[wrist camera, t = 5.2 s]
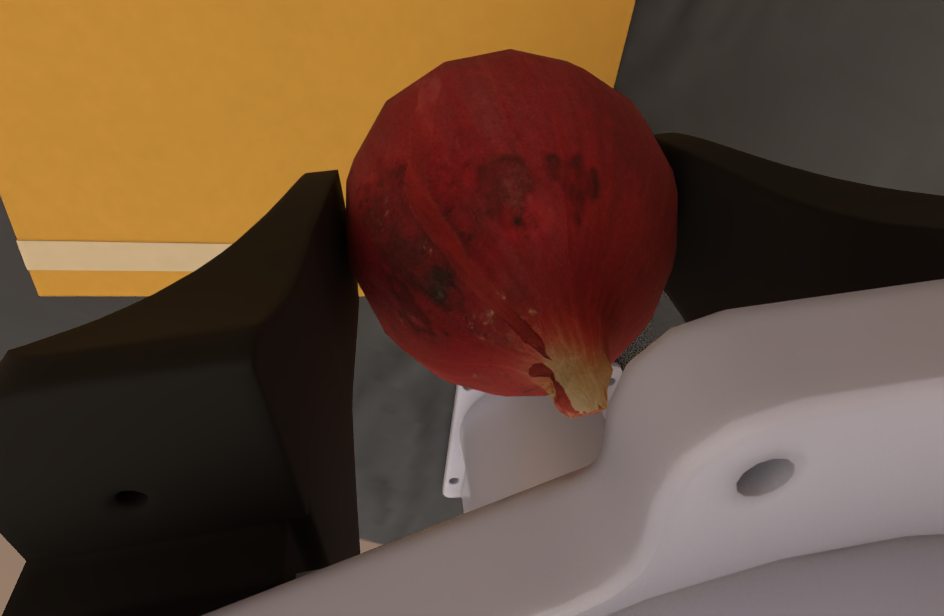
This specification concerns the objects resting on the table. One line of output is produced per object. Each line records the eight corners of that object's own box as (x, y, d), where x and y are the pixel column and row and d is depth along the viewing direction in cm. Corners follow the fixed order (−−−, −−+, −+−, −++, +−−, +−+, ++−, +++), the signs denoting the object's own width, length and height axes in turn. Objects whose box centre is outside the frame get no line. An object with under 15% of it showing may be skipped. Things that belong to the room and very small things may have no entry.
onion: (303, 193, 14) (267, 480, 8) (426, -56, 11) (521, 75, 5) (508, 282, 16) (605, 554, 10) (647, 96, 14) (891, 309, 8)
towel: (558, 291, 26) (561, 297, 26) (43, 290, 22) (37, 297, 22) (674, -178, 17) (682, -178, 16) (-186, -322, 13) (-202, -327, 13)
